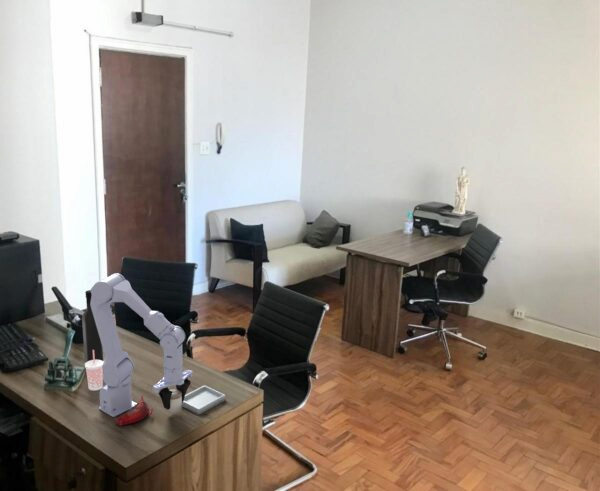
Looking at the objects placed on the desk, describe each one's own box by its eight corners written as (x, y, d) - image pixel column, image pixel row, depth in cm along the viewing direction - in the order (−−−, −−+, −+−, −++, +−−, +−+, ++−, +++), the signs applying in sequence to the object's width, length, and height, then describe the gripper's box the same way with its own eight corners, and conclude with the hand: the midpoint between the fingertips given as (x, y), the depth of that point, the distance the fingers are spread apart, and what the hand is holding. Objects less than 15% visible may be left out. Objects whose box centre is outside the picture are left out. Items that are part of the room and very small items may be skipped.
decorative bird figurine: (147, 428, 166) (114, 429, 166) (160, 398, 183) (130, 399, 183) (146, 420, 165) (113, 421, 165) (160, 391, 182) (130, 392, 182)
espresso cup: (172, 415, 171) (172, 399, 169) (162, 409, 173) (161, 393, 172) (185, 408, 175) (185, 393, 173) (174, 402, 177) (174, 387, 176)
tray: (198, 414, 175) (198, 409, 174) (177, 404, 181) (177, 398, 180) (225, 400, 184) (225, 394, 184) (204, 390, 190) (204, 385, 190)
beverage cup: (98, 392, 186) (96, 354, 182) (82, 390, 187) (80, 352, 184) (108, 384, 192) (106, 347, 188) (92, 381, 193) (90, 345, 189)
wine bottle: (84, 366, 204) (79, 290, 196) (99, 362, 207) (95, 287, 200) (88, 372, 199) (83, 294, 192) (104, 368, 203) (100, 292, 195)
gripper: (163, 378, 162) (163, 418, 166) (199, 361, 174) (199, 399, 177) (147, 370, 166) (149, 410, 170) (184, 355, 178) (184, 392, 181)
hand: (173, 404), depth 174 cm, fingers closed on espresso cup, 5 cm apart
